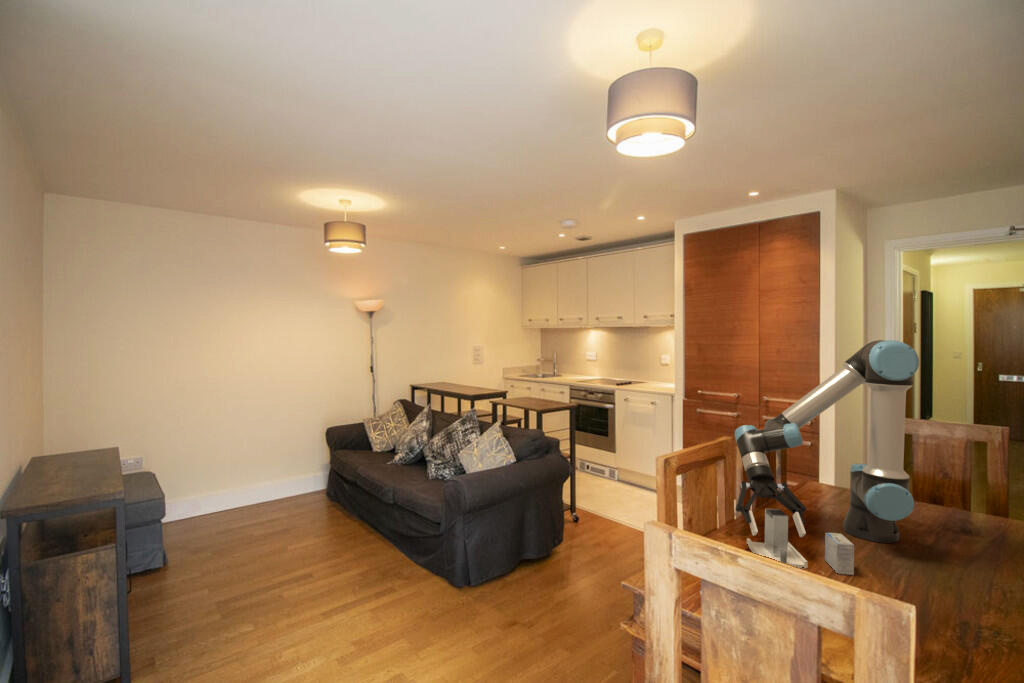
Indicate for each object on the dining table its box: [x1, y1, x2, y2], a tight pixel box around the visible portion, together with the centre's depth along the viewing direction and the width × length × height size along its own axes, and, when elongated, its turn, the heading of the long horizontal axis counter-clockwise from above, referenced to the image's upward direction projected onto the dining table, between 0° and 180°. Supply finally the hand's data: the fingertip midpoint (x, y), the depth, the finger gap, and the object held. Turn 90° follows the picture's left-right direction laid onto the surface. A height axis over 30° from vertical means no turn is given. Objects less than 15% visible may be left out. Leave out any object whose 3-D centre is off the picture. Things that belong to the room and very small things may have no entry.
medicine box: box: [824, 532, 855, 576], centre depth 139 cm, size 8×4×9 cm, turn 168°
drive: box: [763, 508, 789, 557], centre depth 147 cm, size 4×6×12 cm
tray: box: [746, 537, 809, 570], centre depth 146 cm, size 12×14×4 cm
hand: (779, 534), depth 145 cm, fingers open, 13 cm apart
